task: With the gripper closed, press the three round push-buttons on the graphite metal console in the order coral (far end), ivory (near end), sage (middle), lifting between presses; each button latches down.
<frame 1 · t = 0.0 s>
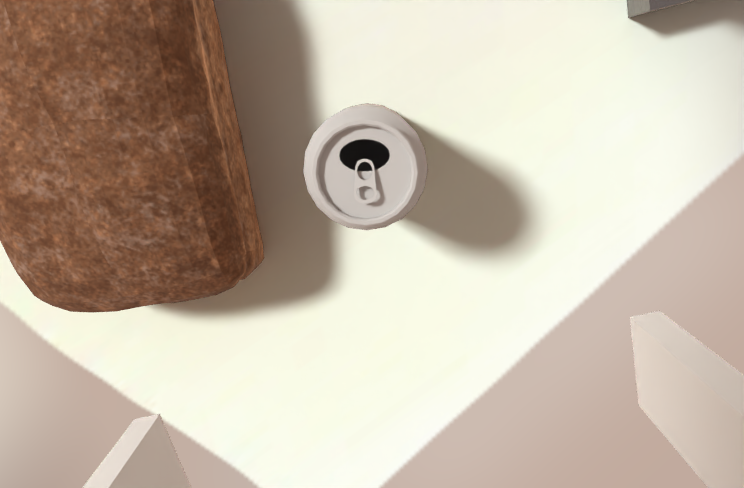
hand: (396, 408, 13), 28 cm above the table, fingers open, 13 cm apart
can: (368, 151, 39), on the table
bread: (138, 102, 39), on the table
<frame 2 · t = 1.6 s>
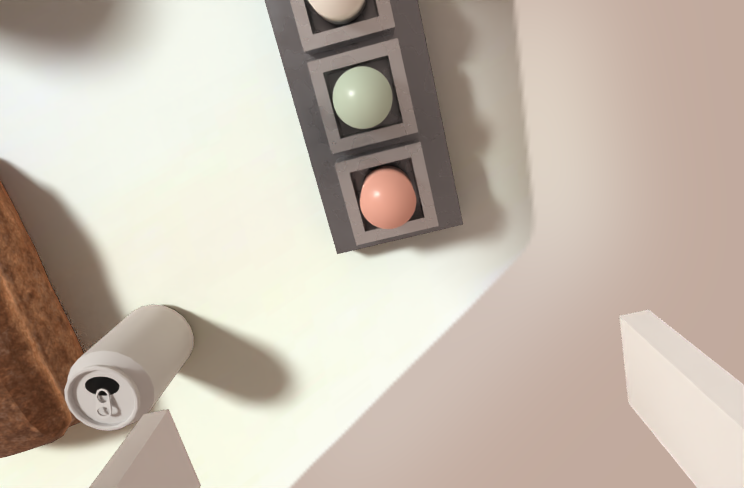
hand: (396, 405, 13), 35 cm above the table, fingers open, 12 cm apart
console: (365, 97, 44), on the table
can: (162, 332, 52), on the table
button coral: (387, 196, 40), point 7 cm above the table, slide at 0.0 cm
button sage: (363, 98, 38), point 7 cm above the table, slide at 0.0 cm
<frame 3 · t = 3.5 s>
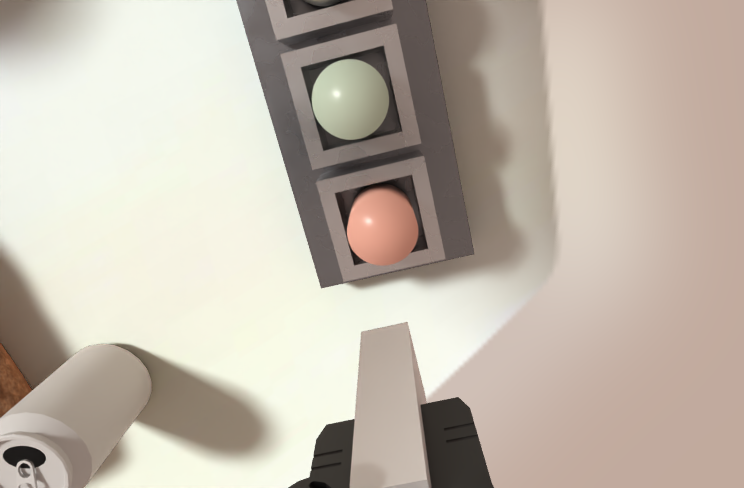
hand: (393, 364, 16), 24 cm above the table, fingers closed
console: (356, 98, 36), on the table
can: (115, 374, 44), on the table
button coral: (382, 222, 32), point 7 cm above the table, slide at 0.0 cm
button sage: (352, 99, 30), point 7 cm above the table, slide at 0.0 cm
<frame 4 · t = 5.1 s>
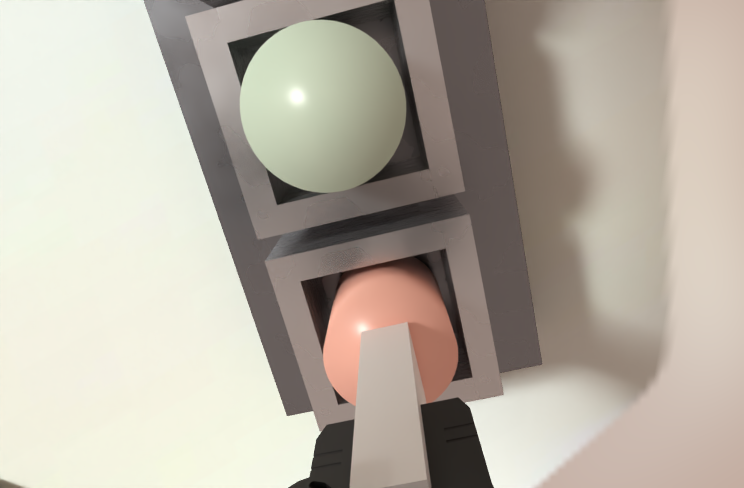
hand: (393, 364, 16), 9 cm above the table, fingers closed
console: (344, 104, 21), on the table
button coral: (388, 325, 18), point 6 cm above the table, slide at -0.7 cm, touching gripper
button sage: (330, 108, 15), point 7 cm above the table, slide at 0.0 cm
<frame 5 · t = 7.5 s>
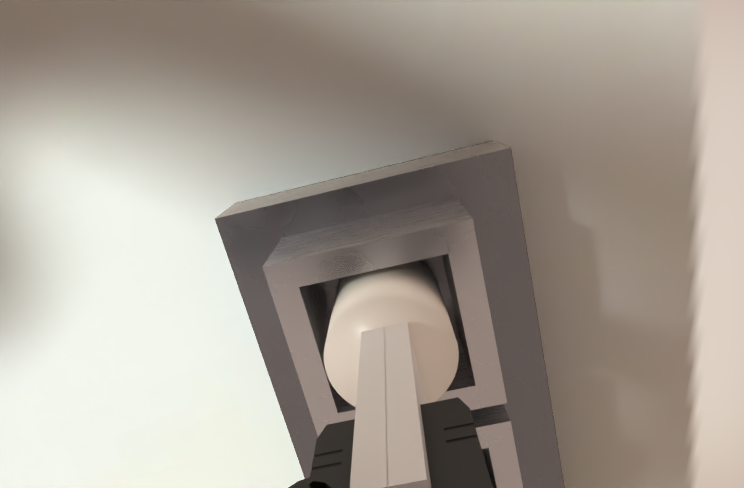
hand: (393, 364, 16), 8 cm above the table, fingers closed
console: (421, 411, 26), on the table
button ivory: (389, 326, 18), point 6 cm above the table, slide at -1.2 cm, touching gripper
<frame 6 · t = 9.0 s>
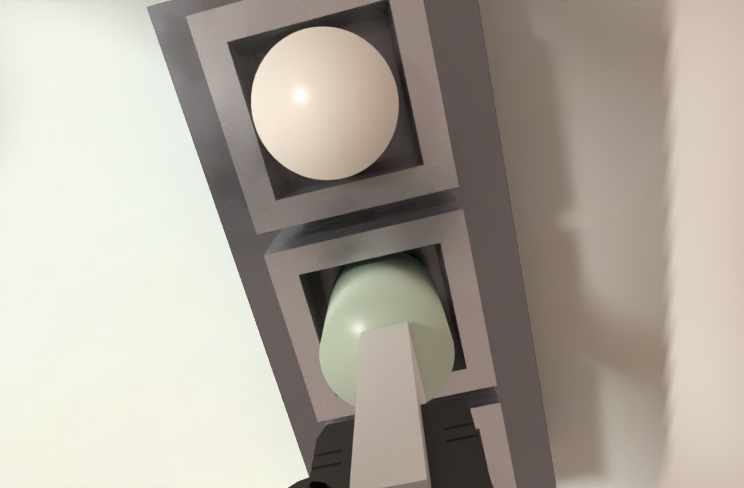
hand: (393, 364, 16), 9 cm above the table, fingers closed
console: (382, 264, 24), on the table
button ivory: (331, 104, 17), point 6 cm above the table, slide at -1.3 cm
button sage: (385, 324, 18), point 7 cm above the table, slide at -0.3 cm, touching gripper
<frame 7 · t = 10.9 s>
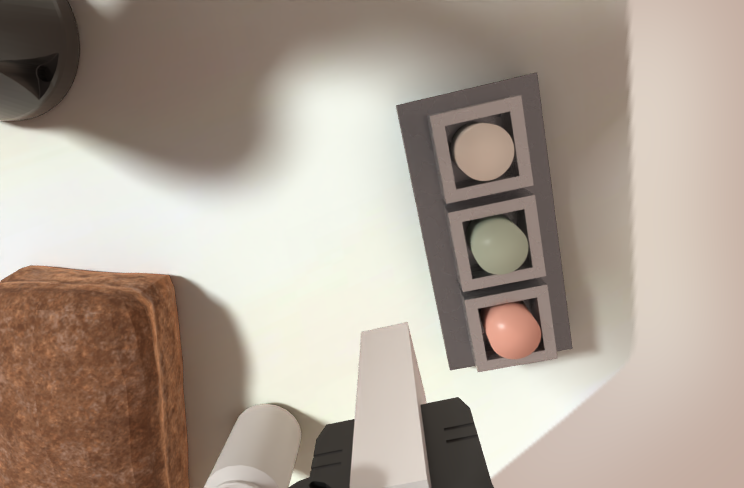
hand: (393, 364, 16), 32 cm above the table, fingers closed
console: (483, 226, 47), on the table
button ivory: (480, 150, 40), point 6 cm above the table, slide at -1.3 cm
can: (270, 427, 55), on the table
button coral: (509, 325, 44), point 6 cm above the table, slide at -1.3 cm
bread: (117, 385, 54), on the table
button sage: (495, 242, 42), point 6 cm above the table, slide at -1.3 cm
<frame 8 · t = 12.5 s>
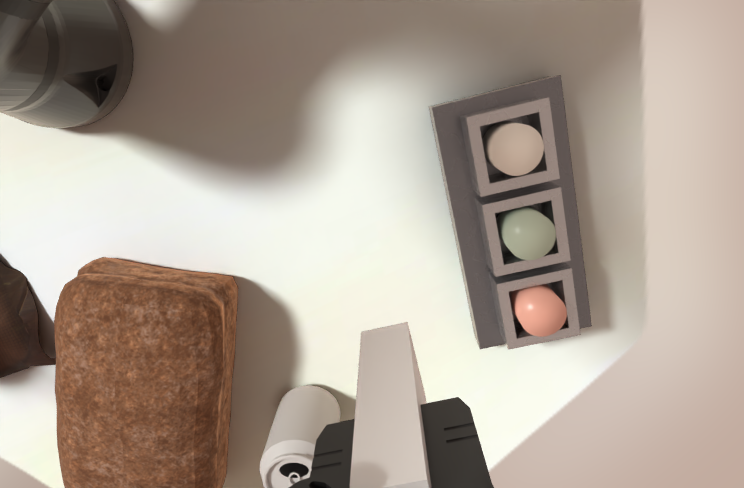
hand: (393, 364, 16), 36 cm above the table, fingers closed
console: (509, 216, 51), on the table
button ivory: (511, 147, 44), point 6 cm above the table, slide at -1.3 cm
can: (310, 407, 59), on the table
button coral: (536, 306, 48), point 6 cm above the table, slide at -1.3 cm
bread: (168, 372, 58), on the table
button sage: (524, 230, 46), point 6 cm above the table, slide at -1.3 cm
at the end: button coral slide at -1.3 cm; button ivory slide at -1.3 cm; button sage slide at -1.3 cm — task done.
